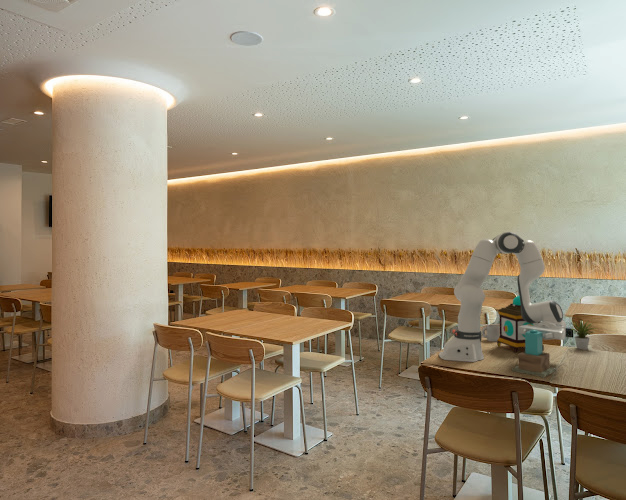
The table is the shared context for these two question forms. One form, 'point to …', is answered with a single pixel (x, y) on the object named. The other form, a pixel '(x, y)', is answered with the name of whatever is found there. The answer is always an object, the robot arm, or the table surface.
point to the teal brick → (533, 342)
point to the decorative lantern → (512, 326)
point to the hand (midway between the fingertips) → (534, 334)
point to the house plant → (582, 335)
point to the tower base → (534, 364)
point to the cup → (491, 333)
